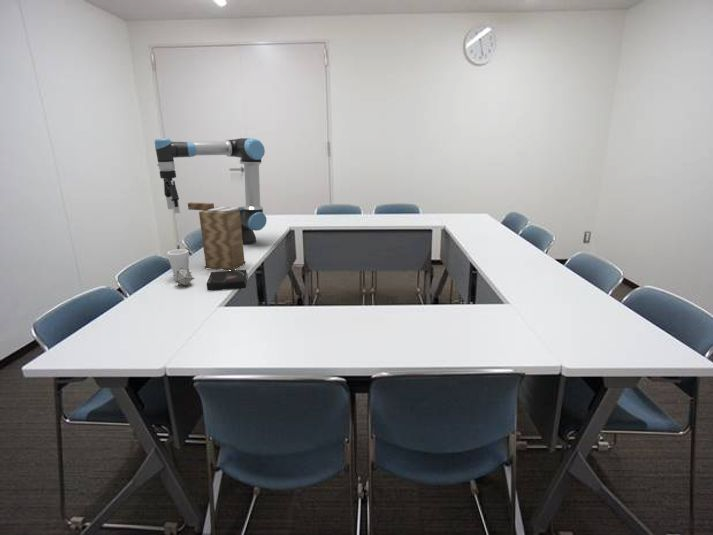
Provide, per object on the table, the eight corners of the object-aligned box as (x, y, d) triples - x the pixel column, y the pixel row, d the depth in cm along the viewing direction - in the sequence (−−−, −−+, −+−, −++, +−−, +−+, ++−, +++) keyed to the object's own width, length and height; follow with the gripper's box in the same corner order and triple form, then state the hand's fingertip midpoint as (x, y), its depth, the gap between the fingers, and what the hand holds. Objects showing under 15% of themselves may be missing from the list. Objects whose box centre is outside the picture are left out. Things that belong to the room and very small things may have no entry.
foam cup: (184, 281, 193) (180, 255, 189) (167, 279, 195) (163, 254, 191) (195, 274, 202) (192, 249, 198) (179, 273, 204) (175, 248, 199)
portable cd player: (246, 288, 185) (245, 280, 184) (207, 291, 181) (206, 283, 180) (247, 277, 200) (247, 269, 199) (212, 279, 197) (211, 271, 195)
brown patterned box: (204, 268, 211) (197, 212, 201) (218, 261, 223) (212, 207, 213) (233, 270, 207) (227, 213, 198) (245, 263, 219) (240, 209, 209)
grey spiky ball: (183, 291, 190) (177, 272, 192) (199, 285, 190) (194, 266, 192) (172, 289, 181) (167, 268, 183) (189, 282, 181) (184, 262, 183)
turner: (184, 210, 204) (183, 204, 203) (196, 207, 214) (195, 201, 212) (228, 213, 199) (228, 206, 198) (238, 209, 208) (238, 203, 207)
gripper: (154, 168, 213) (161, 208, 220) (165, 172, 194) (172, 215, 201) (169, 167, 217) (175, 206, 224) (181, 171, 198) (187, 213, 205)
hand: (173, 211), depth 213 cm, fingers open, 13 cm apart
